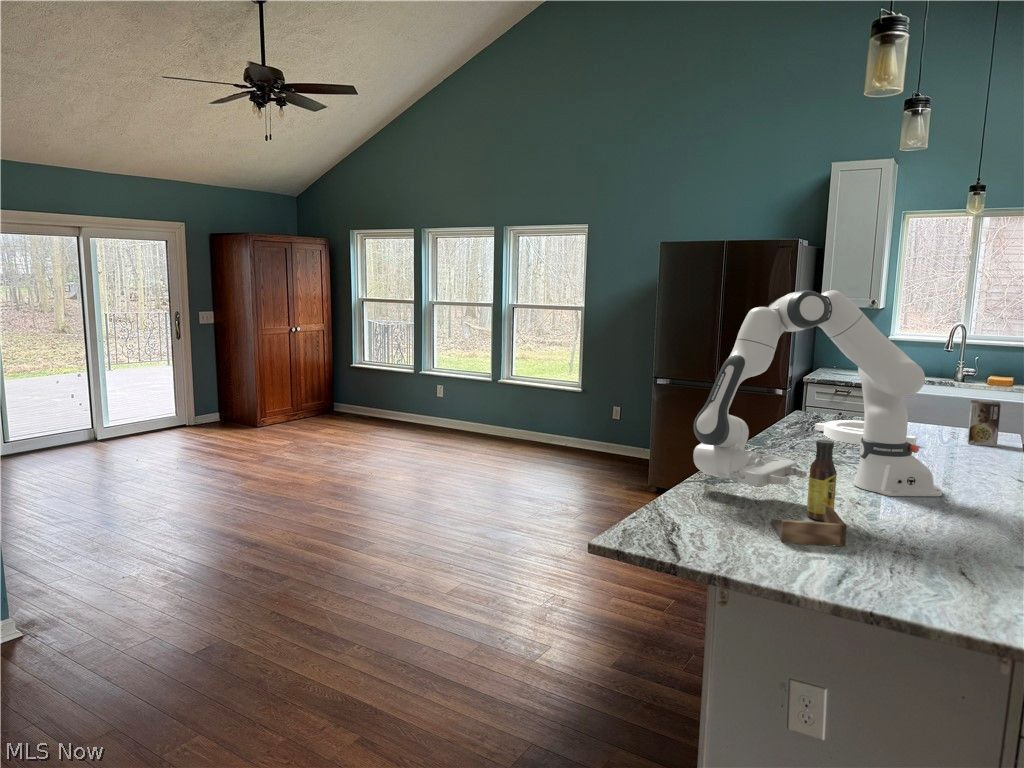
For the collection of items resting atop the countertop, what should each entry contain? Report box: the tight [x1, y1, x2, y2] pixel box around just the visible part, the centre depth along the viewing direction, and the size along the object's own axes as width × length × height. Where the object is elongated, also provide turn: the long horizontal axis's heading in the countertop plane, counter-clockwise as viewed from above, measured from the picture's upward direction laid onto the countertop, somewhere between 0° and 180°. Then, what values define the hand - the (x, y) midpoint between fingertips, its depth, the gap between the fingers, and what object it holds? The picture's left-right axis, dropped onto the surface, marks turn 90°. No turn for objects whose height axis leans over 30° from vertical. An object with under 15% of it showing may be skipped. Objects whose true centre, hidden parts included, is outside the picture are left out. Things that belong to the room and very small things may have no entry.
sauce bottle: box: [806, 439, 838, 522], centre depth 169 cm, size 7×6×20 cm
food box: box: [966, 399, 1002, 447], centre depth 251 cm, size 9×6×16 cm
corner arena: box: [770, 506, 847, 547], centre depth 159 cm, size 14×14×5 cm
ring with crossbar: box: [814, 419, 918, 446], centre depth 261 cm, size 28×28×5 cm
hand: (797, 478), depth 174 cm, fingers open, 8 cm apart
